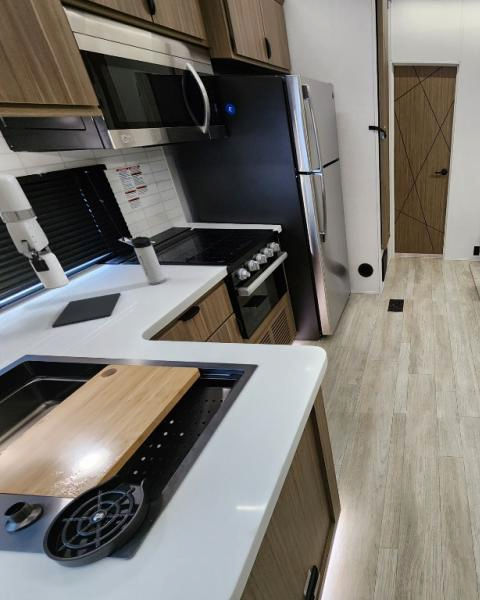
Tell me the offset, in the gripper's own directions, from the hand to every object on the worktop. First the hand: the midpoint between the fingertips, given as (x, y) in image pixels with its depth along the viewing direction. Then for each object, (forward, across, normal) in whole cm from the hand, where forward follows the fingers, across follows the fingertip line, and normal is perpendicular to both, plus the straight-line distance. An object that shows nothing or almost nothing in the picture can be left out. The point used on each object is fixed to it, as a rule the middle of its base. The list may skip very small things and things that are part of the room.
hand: (47, 267), depth 114 cm
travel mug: (+19, -17, +25) cm, 35 cm away
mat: (+18, 0, +5) cm, 19 cm away
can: (+7, 0, 0) cm, 7 cm away
